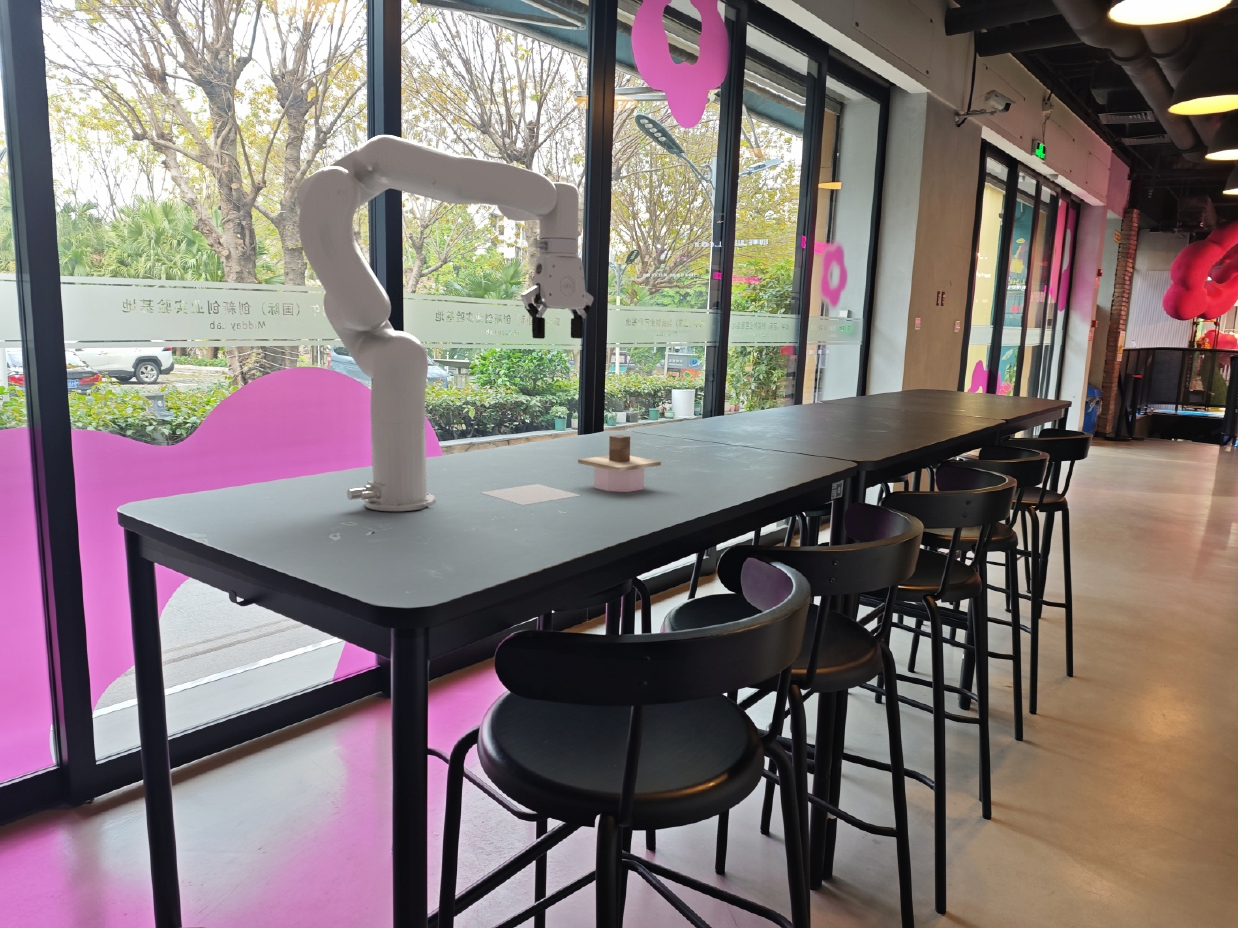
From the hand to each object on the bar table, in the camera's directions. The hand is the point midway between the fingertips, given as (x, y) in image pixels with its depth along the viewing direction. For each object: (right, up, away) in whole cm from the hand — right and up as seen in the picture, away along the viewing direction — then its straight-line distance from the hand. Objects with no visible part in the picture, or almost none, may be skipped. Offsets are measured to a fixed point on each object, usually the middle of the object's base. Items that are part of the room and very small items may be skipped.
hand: (558, 338), depth 166 cm
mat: (-5, -31, -3) cm, 32 cm away
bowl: (+12, -30, +6) cm, 33 cm away
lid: (+12, -25, +5) cm, 28 cm away
